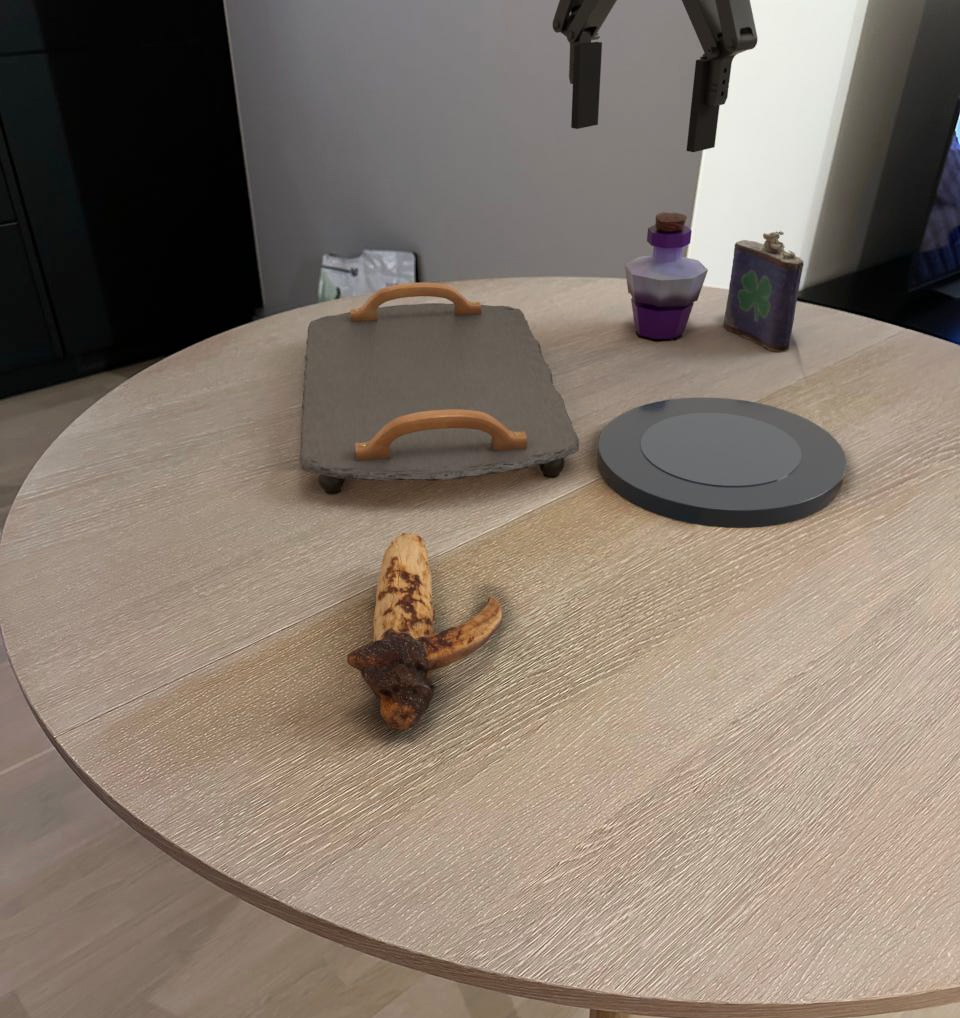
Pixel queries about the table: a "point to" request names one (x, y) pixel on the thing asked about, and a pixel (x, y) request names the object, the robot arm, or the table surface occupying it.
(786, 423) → the plate
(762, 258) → the flask
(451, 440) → the serving tray
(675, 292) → the potion bottle
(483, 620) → the bone fish hook
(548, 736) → the table surface
